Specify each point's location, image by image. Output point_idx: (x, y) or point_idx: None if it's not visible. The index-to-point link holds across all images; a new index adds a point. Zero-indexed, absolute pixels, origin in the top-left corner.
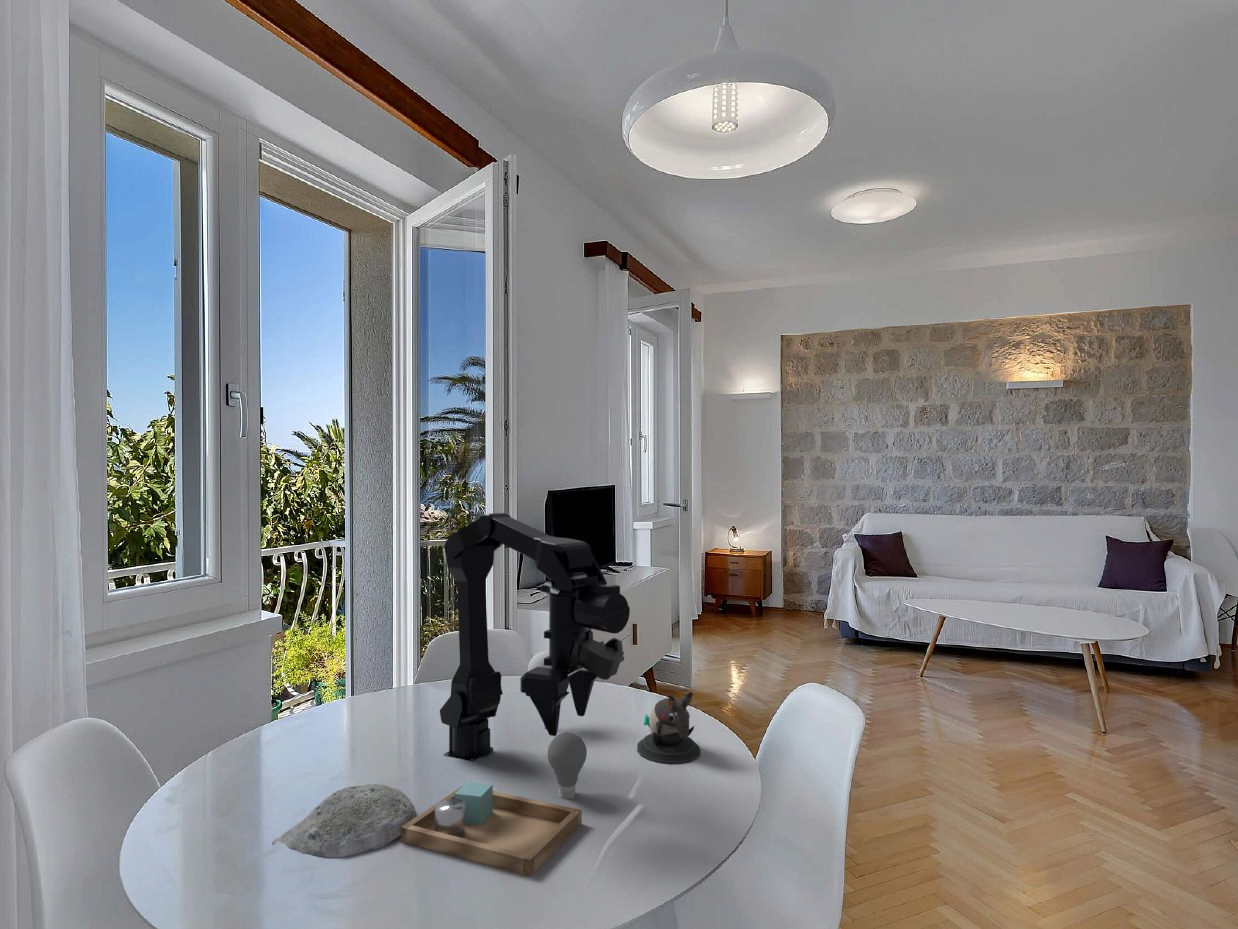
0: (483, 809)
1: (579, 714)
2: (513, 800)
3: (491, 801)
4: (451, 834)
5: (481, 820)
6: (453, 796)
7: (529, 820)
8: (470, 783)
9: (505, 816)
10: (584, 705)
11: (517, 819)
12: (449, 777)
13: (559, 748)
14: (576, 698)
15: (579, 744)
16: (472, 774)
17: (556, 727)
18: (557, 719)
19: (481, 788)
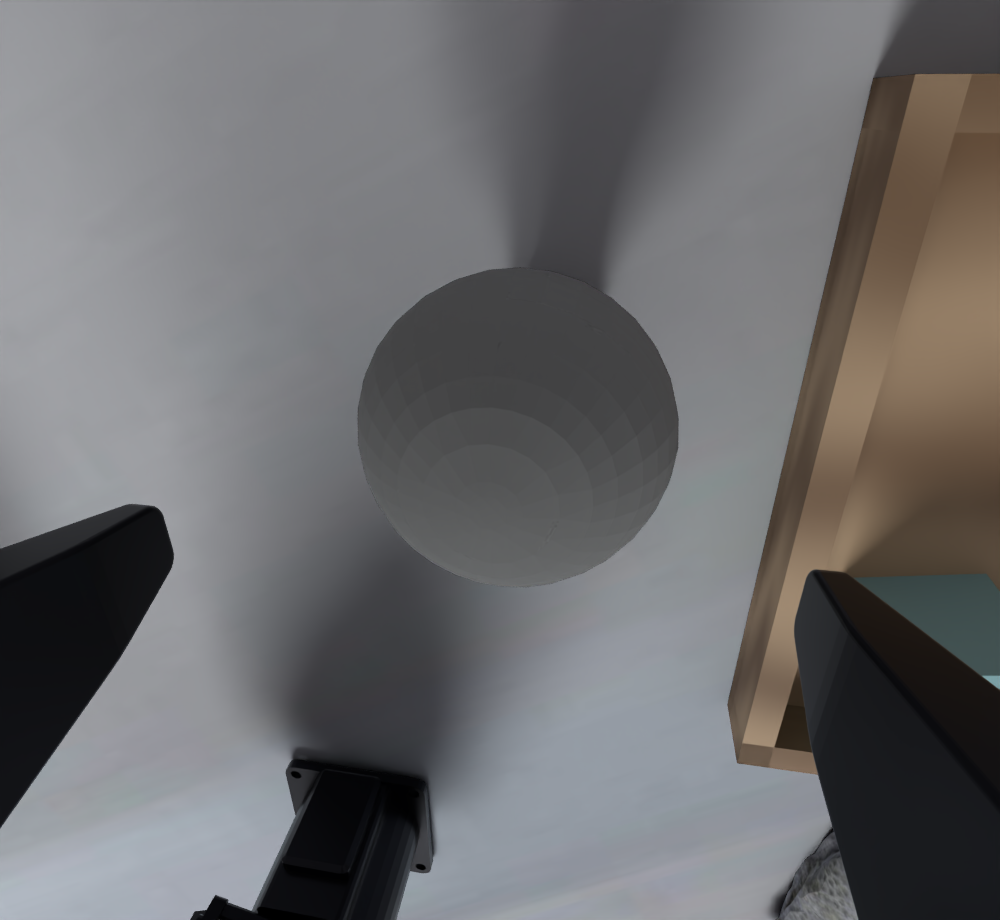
0: (980, 616)
1: (160, 551)
2: (834, 530)
3: None
4: None
5: (988, 587)
6: None
7: (896, 391)
8: None
9: (871, 513)
10: (61, 567)
11: (895, 450)
12: (553, 804)
13: (651, 481)
14: (37, 713)
15: (526, 345)
16: (497, 753)
17: (907, 631)
18: (988, 715)
19: None
